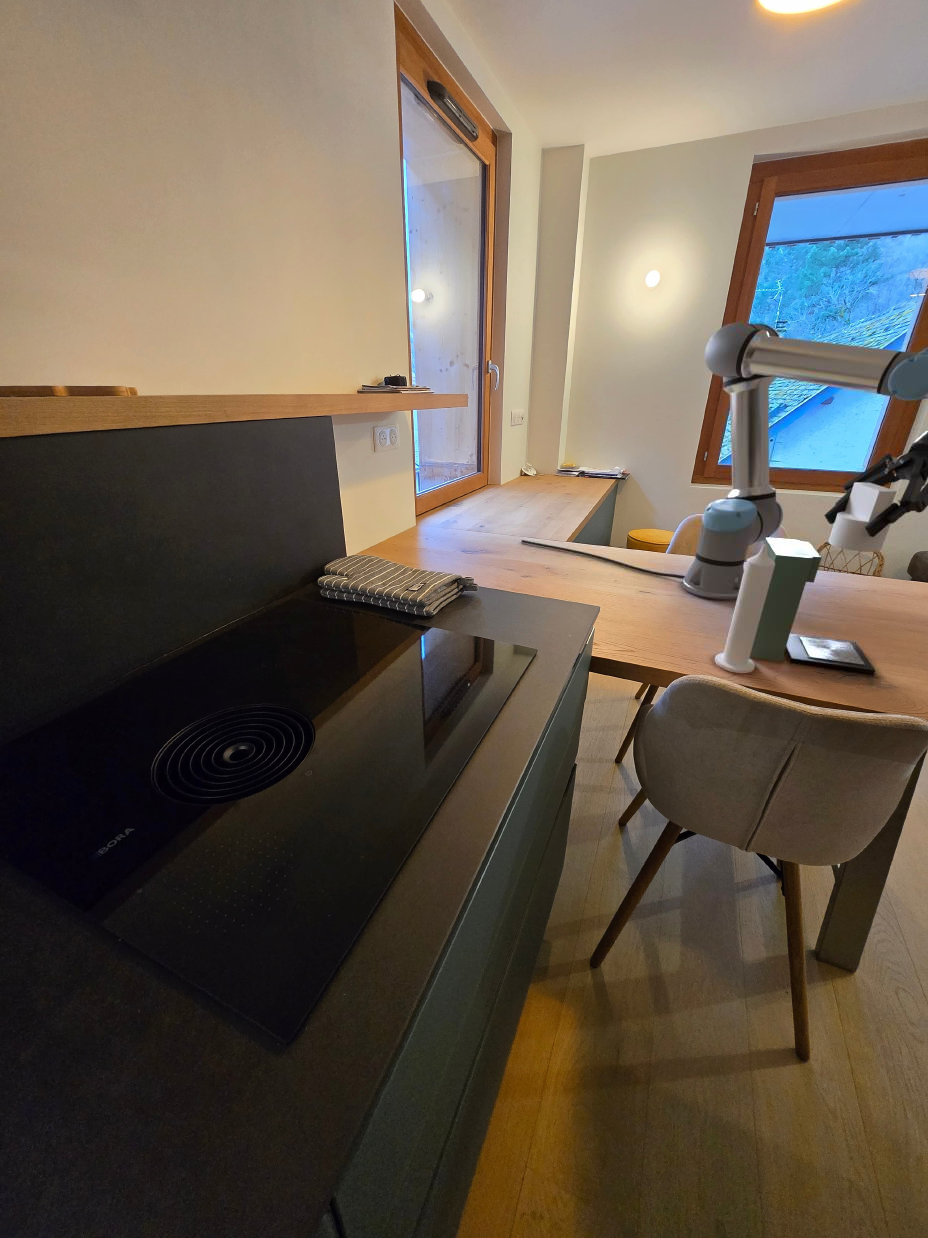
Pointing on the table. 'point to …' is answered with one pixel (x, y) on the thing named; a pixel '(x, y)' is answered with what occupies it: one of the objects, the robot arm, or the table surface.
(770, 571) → the candle
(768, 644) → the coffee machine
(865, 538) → the base with upright slab
